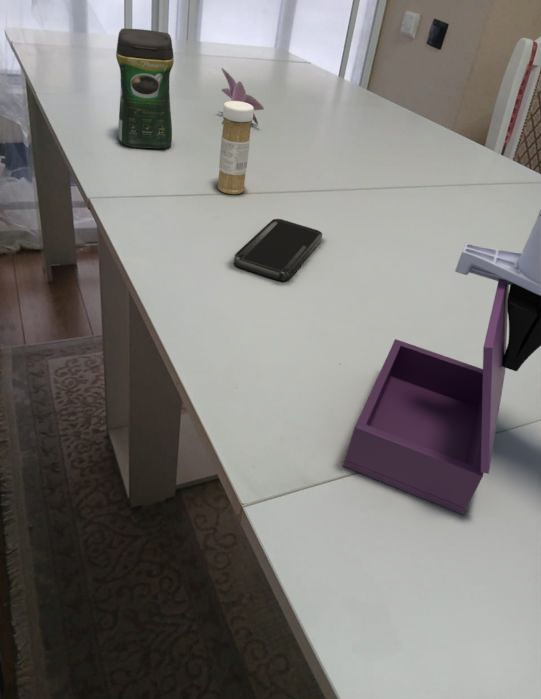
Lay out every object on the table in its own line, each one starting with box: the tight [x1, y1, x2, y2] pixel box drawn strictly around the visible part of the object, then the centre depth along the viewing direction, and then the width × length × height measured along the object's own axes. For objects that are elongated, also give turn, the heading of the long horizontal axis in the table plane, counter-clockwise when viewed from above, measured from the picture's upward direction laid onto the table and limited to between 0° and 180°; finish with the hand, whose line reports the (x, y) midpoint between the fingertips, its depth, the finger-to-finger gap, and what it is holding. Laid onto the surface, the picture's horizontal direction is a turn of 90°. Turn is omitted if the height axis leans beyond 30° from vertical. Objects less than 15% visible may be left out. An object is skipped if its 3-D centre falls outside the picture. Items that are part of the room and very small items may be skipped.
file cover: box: [481, 279, 510, 474], centre depth 49 cm, size 11×15×1 cm
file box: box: [342, 338, 484, 515], centre depth 55 cm, size 11×15×5 cm
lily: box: [221, 67, 265, 126], centre depth 124 cm, size 12×12×10 cm
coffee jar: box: [115, 27, 175, 149], centre depth 104 cm, size 10×8×19 cm
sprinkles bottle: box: [217, 100, 255, 195], centre depth 93 cm, size 5×5×14 cm
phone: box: [233, 218, 323, 282], centre depth 82 cm, size 8×1×15 cm
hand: (510, 363), depth 53 cm, fingers closed
